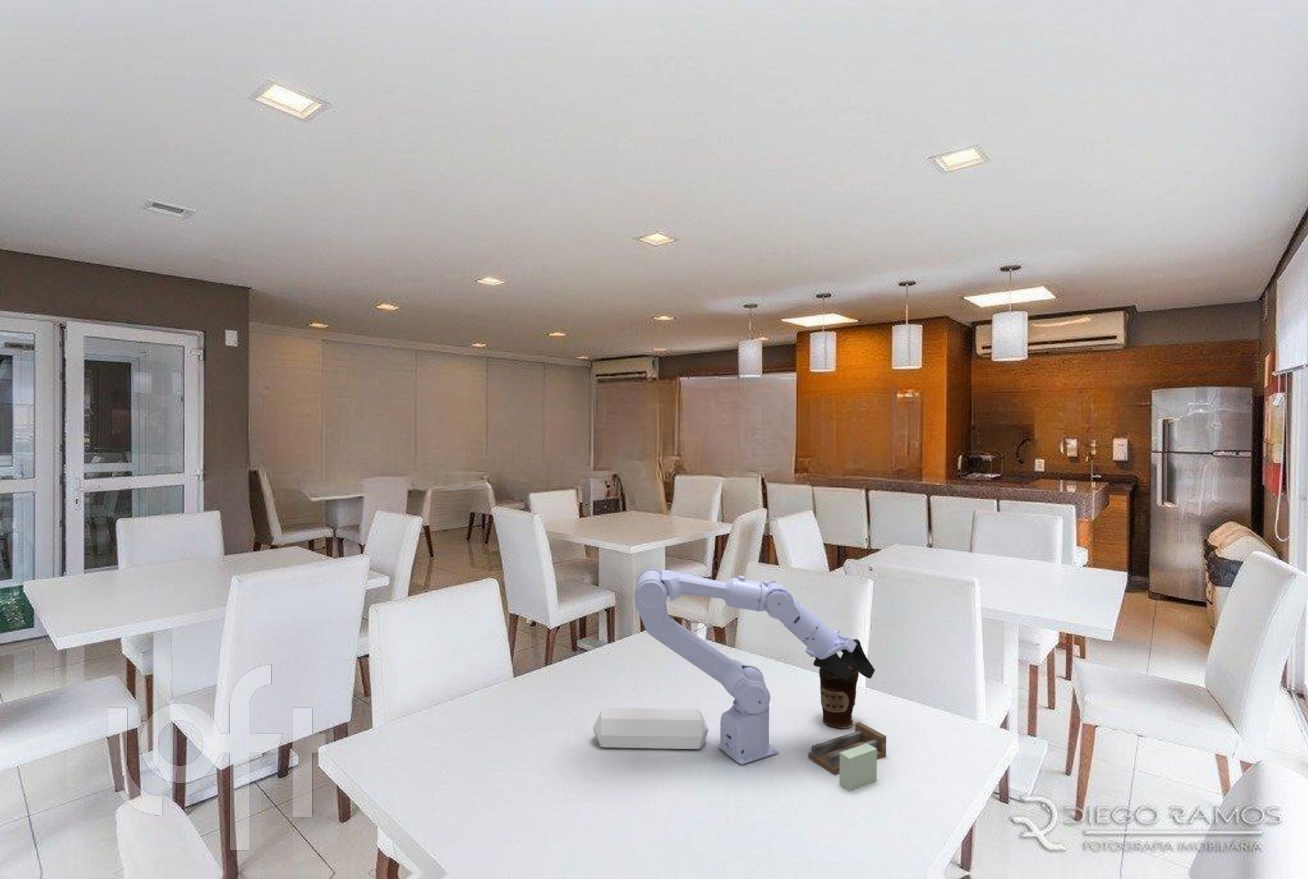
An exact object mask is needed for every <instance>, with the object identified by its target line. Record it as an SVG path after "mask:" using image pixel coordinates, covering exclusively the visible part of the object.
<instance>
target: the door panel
mask: <svg viewBox="0 0 1308 879" xmlns="http://www.w3.org/2000/svg"><path fill="white" fill-rule="evenodd" d="M877 762H878V759H877V749H876V748H874V747H873V746H871V745H869V744H867V743H866V744H863V745H860V746H857V747H855V748H852V749H849V750H846V751H843V752H840V770H839V773H838V774H839V775H838V776H839V778H838V779H839V780H838V781H839V782H838V783H839V786H841V787H842V788H844V789H845V790H847V791H848V792H851V791H854V790H855V789H858V788H861V787H863V786H866V785H868V784H871V783H875V782H877V773H878V772H877V771H878V770H877V769H878V768H877V767H878V764H877Z"/></svg>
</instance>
